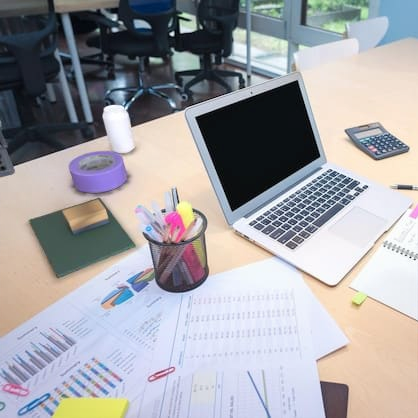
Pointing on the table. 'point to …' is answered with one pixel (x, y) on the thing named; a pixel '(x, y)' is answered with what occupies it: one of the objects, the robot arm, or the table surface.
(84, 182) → the tape roll
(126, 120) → the beverage can
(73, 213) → the eraser
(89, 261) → the chalkboard
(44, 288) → the table surface
